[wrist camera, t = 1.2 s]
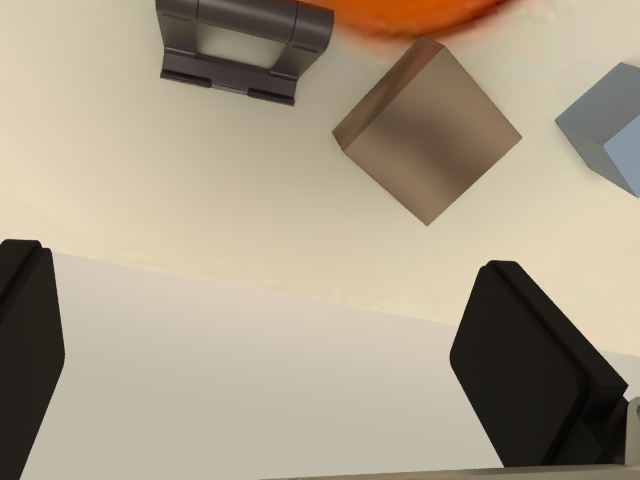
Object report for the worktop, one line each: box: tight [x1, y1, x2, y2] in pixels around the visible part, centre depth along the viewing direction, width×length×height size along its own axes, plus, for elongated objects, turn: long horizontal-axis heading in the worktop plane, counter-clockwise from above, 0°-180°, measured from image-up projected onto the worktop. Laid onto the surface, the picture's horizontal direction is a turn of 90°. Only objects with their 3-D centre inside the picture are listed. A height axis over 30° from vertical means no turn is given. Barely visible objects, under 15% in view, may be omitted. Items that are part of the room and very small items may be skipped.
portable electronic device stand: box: [155, 0, 334, 106], centre depth 29 cm, size 9×8×8 cm
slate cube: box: [555, 62, 640, 198], centre depth 37 cm, size 6×6×6 cm
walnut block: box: [332, 35, 523, 226], centre depth 36 cm, size 9×9×4 cm
